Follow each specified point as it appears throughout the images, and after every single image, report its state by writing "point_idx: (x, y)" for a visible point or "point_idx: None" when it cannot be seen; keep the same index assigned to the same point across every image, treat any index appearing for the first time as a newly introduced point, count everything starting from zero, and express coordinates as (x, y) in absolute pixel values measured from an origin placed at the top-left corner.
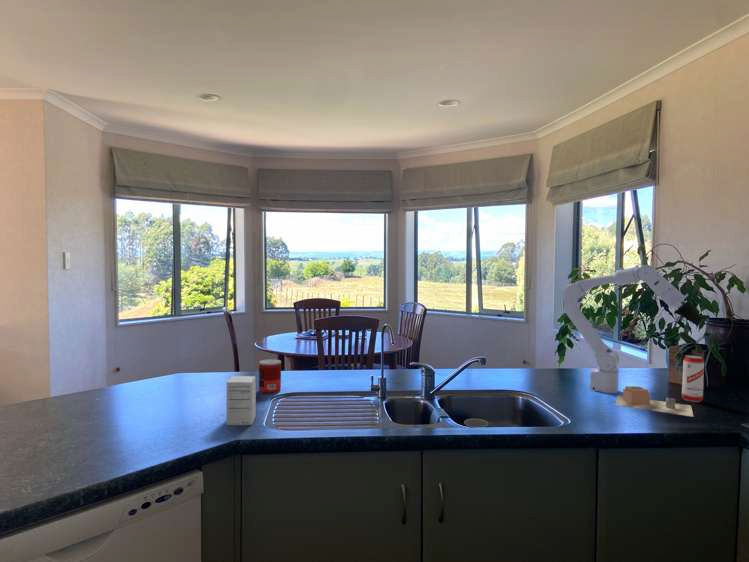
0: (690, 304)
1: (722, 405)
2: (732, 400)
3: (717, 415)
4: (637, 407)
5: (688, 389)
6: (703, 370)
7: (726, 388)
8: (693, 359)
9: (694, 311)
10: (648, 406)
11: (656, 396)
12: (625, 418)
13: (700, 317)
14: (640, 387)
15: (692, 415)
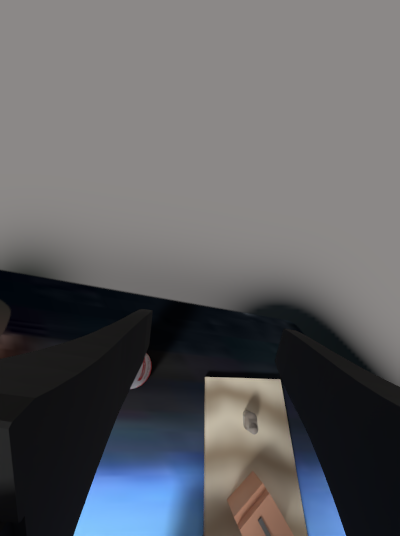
0: (77, 387)
1: None
2: (105, 300)
3: (219, 338)
4: (297, 504)
5: (145, 376)
6: None
7: (7, 294)
8: None
9: (126, 344)
10: (269, 473)
11: (129, 449)
12: None
13: (150, 312)
14: (260, 524)
15: (274, 380)
